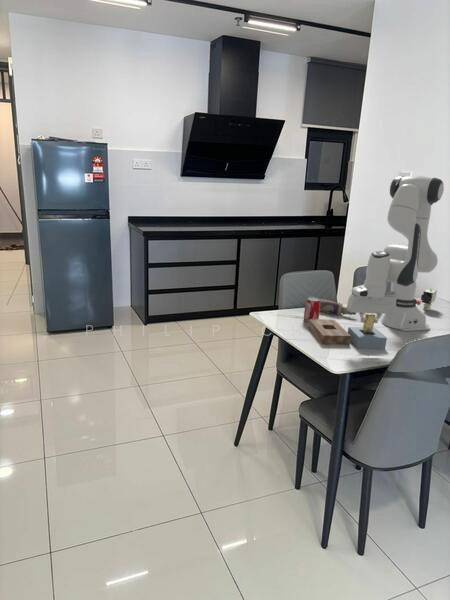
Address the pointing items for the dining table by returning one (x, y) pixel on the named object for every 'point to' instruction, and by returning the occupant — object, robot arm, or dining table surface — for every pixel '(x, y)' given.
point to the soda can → (312, 309)
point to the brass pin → (368, 324)
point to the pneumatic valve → (428, 298)
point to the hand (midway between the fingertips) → (368, 322)
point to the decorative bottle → (333, 307)
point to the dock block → (367, 338)
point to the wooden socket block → (329, 332)
